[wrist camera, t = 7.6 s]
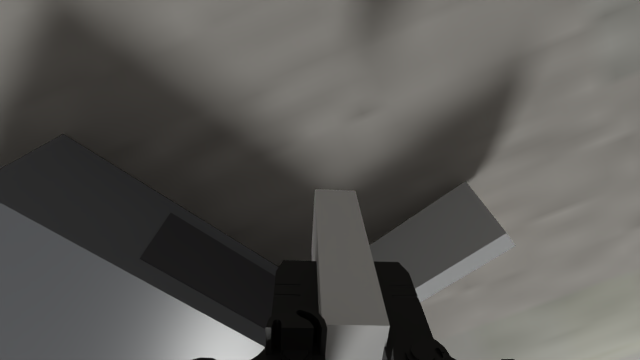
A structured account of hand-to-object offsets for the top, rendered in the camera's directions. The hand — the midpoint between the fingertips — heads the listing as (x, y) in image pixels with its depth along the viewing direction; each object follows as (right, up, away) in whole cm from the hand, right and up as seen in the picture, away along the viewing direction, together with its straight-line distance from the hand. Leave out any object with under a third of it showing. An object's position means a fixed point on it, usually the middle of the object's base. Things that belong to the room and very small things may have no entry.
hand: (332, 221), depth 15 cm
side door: (+4, -2, +8) cm, 9 cm away
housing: (-10, -4, +9) cm, 14 cm away
